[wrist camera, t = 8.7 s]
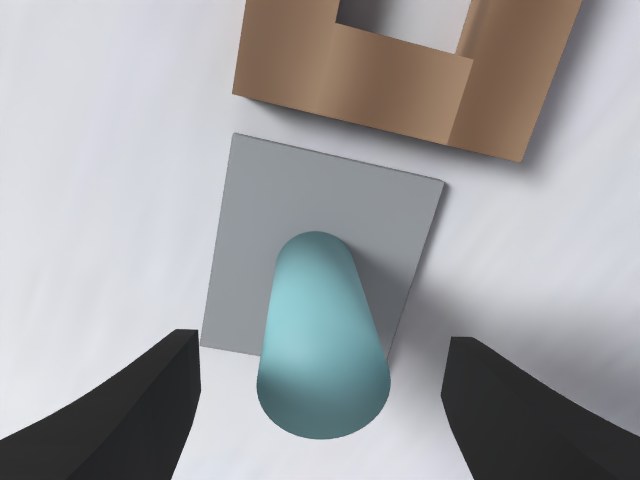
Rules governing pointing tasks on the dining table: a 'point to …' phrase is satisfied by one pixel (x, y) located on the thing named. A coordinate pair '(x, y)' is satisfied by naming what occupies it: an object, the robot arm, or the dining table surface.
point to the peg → (320, 343)
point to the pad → (304, 216)
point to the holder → (410, 71)
